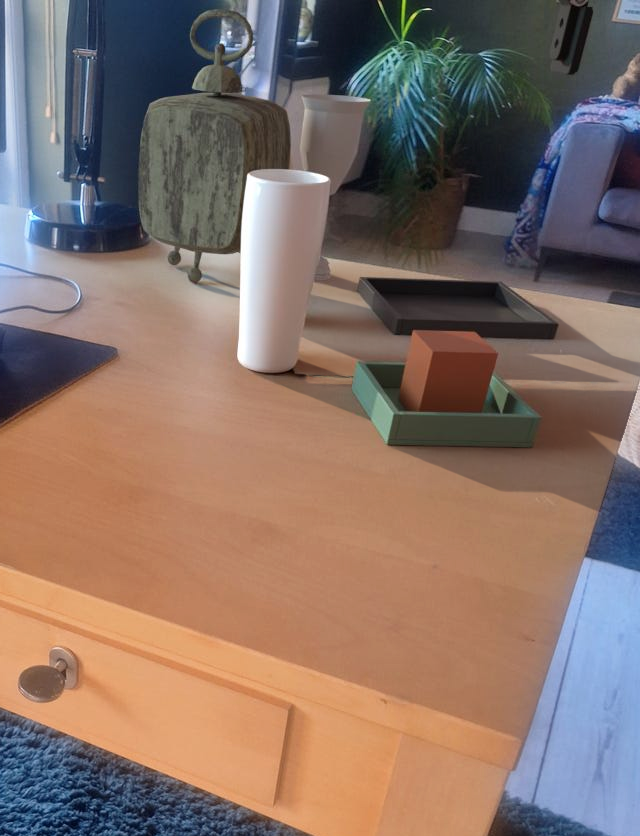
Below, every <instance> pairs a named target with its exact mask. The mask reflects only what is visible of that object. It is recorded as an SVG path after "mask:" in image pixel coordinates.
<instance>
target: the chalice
mask: <svg viewBox="0 0 640 836" xmlns="http://www.w3.org/2000/svg"><path fill="white" fill-rule="evenodd" d="M301 100H302V103H303V106H304V113H303V119H302V120H303V121H302V128H301V129H302V130H301V139H300V144H299V145H300V146H299V151H300V157H301V163H302V168H303V171H306V172H312V173H317V174H321V175H324V176H327V177H328V178H330V180H331V186H330V196H332V195H335V194H336V193H337V191H338V189H340V187H341V185H342V183H343V182H344V180H345V178H346V177H347V175H348V173H349V171H350V169H351V167H352V165H353V163H354V161H355V159H356V157H357V154H358V152H359V145H360V139H361V133H362V132H361V131H362V125H363V120H364V113H365V111H366V109H367V107H368V105H370V103H371V99H369V98H365V97H358V96H351V95H340V94H339V95H338V94H322V93H321V94H319V93H317V94H302V95H301ZM325 235H326V232H325V233H324V236H325ZM329 265H330V262H329V260H328V259H327V258H326V257H325V256H323V255H322V251H321V252H320V257H319V261H318V265H317V270H316V274H315V278H314V281H325V280H326V281H327V280H329V279H331V278H332V275H331V268H330V266H329Z"/></svg>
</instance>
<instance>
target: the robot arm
mask: <svg viewBox="0 0 640 836" xmlns="http://www.w3.org/2000/svg"><path fill="white" fill-rule="evenodd" d="M589 2H590V0H555V3H556V4H557V5H558V6H560V8H559V12H558V15H557V20H556V24H555V29H554V33H553V37H552V41H551V45H550V50H549V59H550V60H551V64H550V72H551V73H554V74H560V75H565V76H574V75H575V74H577V73H578V71H579V70H580V66H581V62H582V57H583V54H584V50H585V46H586V43H587V38H588V34H589V31H590V27H591V23H592V18H593V16H594V9H593V7H594V6H589Z"/></svg>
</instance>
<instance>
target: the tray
mask: <svg viewBox="0 0 640 836" xmlns="http://www.w3.org/2000/svg"><path fill="white" fill-rule="evenodd" d="M405 365H406V362H403V361H402V362H397V361H362V360H361V361H360V360H359V361H358V360H357V361H356V363H355V368H354V373H353V379H352V385H351V390H352V392H353V394H354V395H355V397H356V398H357V401H358V402H359V403H360V405H361V406H362V408H363V409H364V411H365V413H366V415H367V416H368V417H369V419H370V421H371V422H372V424H373V425H374V427H375V428H376V430H377V432H378V433H379V434H380V437H381V438H382V440H383V441H384V443H385V444H386V446H429V447H430V446H431V447H432V446H433V447H434V446H436V447H437V446H438V447H440V446H441V447H484V448H485V447H486V448H533V446H534V443H535V439H536V437H537V434H538V430H539V427H540V425H541V420H542V416H541V414H539V413H538V412H537V411H536V410H534V408H533V407H532V406H530V404H528V403H527V402H526V401H525V399H523V398H522V397H521V396H520V395H519V394H518V393H517V391H515V390H514V389H513V388H512V386H510V385H509V383H507V382H506V381H505V380H504V379H503V378H501V376H500V375H499V374H497V373H496V372H495V370H494V371H493V374H492V378H491V382H490V385H489V389H488V392H487V396H486V400H485V403H484V407H483V410H482V413H450V412H407V411H406V409H405V408H404V407H403V405H402V404H401V402H400V401H399V400H398V397H399V393H400V388H401V383H402V379H403V374H404V370H405Z"/></svg>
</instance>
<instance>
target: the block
mask: <svg viewBox="0 0 640 836" xmlns="http://www.w3.org/2000/svg"><path fill="white" fill-rule="evenodd" d="M410 337H411V338H410V343H409V347H408V351H407V355H406V359H405V363H406V365H405V370H404V374H403V379H402V383H401V388H400V393H399V397H398V400H399V401H400V402H401V404H402V405H403V407H404V408H405V409H406V411H407V412H450V413H482V410H483V407H484V403H485V400H486V396H487V392H488V389H489V385H490V382H491V378H492V374H493V371H494V372H495V367H496V364H497V361H498V356H499V352H498V351H497V350H496V349H494V347H492V346H491V345H490V344H489V343H488V342H487V341H486V340H485V339H483V338H481V337H480V336H479V335H478V334H477V333H476V332H464V331H430V330H413V333H412V336H410Z"/></svg>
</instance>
